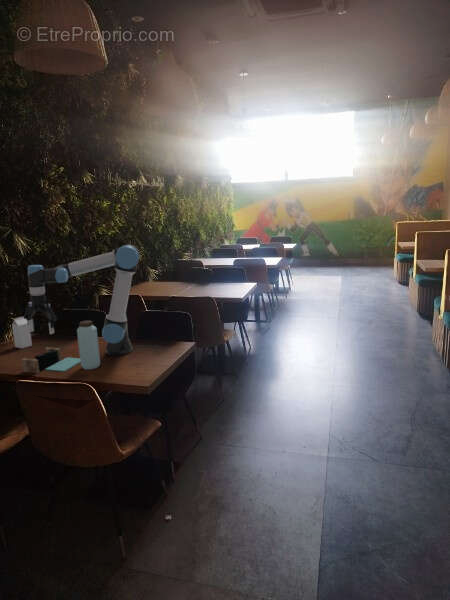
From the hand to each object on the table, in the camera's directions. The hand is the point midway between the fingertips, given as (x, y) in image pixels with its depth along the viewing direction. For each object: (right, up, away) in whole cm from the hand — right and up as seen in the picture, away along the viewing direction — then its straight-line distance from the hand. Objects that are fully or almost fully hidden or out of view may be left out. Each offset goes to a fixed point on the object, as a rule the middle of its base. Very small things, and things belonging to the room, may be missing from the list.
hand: (41, 332), depth 225 cm
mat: (+12, -18, +3) cm, 22 cm away
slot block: (0, -18, +2) cm, 19 cm away
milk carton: (-28, -12, +38) cm, 49 cm away
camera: (+1, -19, +2) cm, 19 cm away
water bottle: (+27, -19, -2) cm, 33 cm away
